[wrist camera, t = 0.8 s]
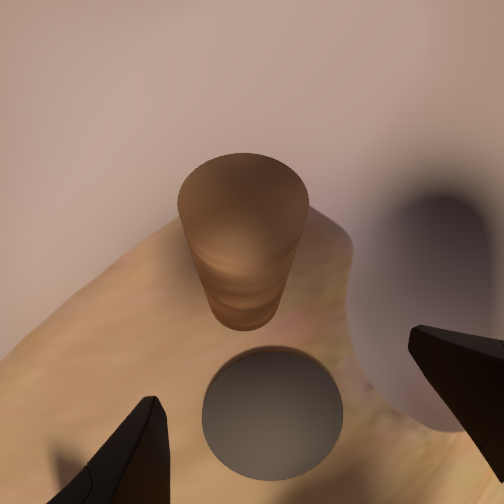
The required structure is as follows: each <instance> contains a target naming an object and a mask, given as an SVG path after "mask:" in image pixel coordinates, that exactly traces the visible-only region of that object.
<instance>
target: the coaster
mask: <svg viewBox="0 0 504 504" xmlns="http://www.w3.org/2000/svg"><path fill="white" fill-rule="evenodd" d="M342 422H343V406H342V401H341V397H340V394H339V391H338V389H337V387H336V385H335V384H334V382H333V380H332V379H331V378H330V377H329V375H328V374H327V373H326V372H325V371H324V370H323V369H322V368H320V367H319V366H318V365H316V364H315V363H313V362H312V361H310V360H308V359H306V358H303V357H301V356H298V355H294V354H291V353H284V352H266V353H259V354H255V355H252V356H249V357H246V358H243V359H241V360H239V361H237V362H236V363H234V364H233V365H231V366H229V367H228V368H227V369H226V370H225V371H223V372H222V373H221V374H220V375H219V376H218V378H217V379H216V380H215V381H214V383H213V384H212V386H211V387H210V389H209V391H208V393H207V395H206V398H205V401H204V405H203V410H202V427H203V431H204V436H205V438H206V441H207V443H208V445H209V447H210V449H211V450H212V452H213V453H214V454H215V456H216V457H217V458H218V459H219V460H220V461H221V462H222V463H223V464H224V465H225V466H227V467H228V468H230V469H231V470H233V471H234V472H236V473H238V474H240V475H243V476H246V477H248V478H252V479H257V480H265V481H277V480H284V479H289V478H292V477H296V476H298V475H301V474H303V473H305V472H307V471H309V470H311V469H312V468H314V467H315V466H316V465H318V464H319V463H320V462H321V461H322V460H323V459H324V458H325V457H326V456H327V455H328V454H329V453H330V451H331V450H332V448H333V447H334V445H335V444H336V442H337V439H338V437H339V435H340V432H341V428H342Z"/></svg>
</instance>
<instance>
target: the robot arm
mask: <svg viewBox="0 0 504 504" xmlns="http://www.w3.org/2000/svg"><path fill="white" fill-rule="evenodd" d="M408 350H409V352H410V354H411V355H412V357H413V359H414V360H415V362H416V363H417V365H418V366H419V368H420V369H421V371H422V373H423V374H424V376H425V377H426V379H427V380H428V382H429V383H430V384H431V385H432V387H433V388H434V389H435V391H436V392H437V393H438V394H439V396H440V397H441V398H442V400H443V401H444V402H445V404H446V405H447V406H448V407H449V409H450V410H451V411H452V413H453V414H454V415H455V417H456V418H457V419H458V421H459V422H460V424H461V425H462V426H463V428H464V429H465V430H466V432H467V433H468V435H469V436H470V437H471V439H472V440H473V442H474V443H475V445H476V446H477V447H478V449H479V450H480V452H481V454H482V455H483V456H484V458H485V459H486V461H487V462H488V464H489V465H490V467H491V469H492V470H493V472H494V473H495V475H496V476H497V478H498V479H499V481H500V482H501V483H503V482H504V340H497V339H492V338H487V337H481V336H476V335H470V334H465V333H459V332H455V331H449V330H444V329H439V328H435V327H430V326H425V325H418V326H416V327H414V328H412V329H411V331H410V337H409V343H408ZM46 504H170V448H169V438H168V426H167V416H166V413H165V411H164V409H163V407H162V405H161V403H160V401H159V399H158V398H157V397H156V396H146V397H144V398H143V399H142V400H141V401H140V402H139V403H138V404H137V406H136V407H135V408H134V409H133V410H132V412H131V413H130V414H129V415H128V416H127V417H126V419H125V420H124V421H123V422H122V423H121V424H120V426H119V427H118V428H117V429H116V430H115V432H114V433H113V434H112V435H111V436H110V437H109V439H108V440H107V441H106V442H105V443H104V444H103V446H102V447H101V448H100V449H99V450H98V451H97V452H96V454H95V455H94V456H93V457H92V458H91V459H90V461H89V462H88V463H87V465H85V466H84V467H83V469H82V470H81V471H80V472H79V473H78V474H77V475H76V476H75V477H74V478H73V480H72V481H71V482H70V483H69V484H68V485H66V486H65V487H64V488H63V489H62V490H61V491H60V492H59V493H58V494H57V495H55V496H54V497H53V498H52V499H51V500H50V501H49V502H47V503H46Z"/></svg>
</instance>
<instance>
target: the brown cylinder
mask: <svg viewBox="0 0 504 504" xmlns="http://www.w3.org/2000/svg"><path fill="white" fill-rule="evenodd" d="M177 204H178V212H179V216H180V219H181V222H182V225H183V229H184V232H185V235H186V238H187V241H188V244H189V247H190V250H191V253H192V256H193V259H194V262H195V265H196V268H197V271H198V274H199V277H200V279H201V282H202V285H203V288H204V291H205V294H206V296H207V299H208V302H209V304H210V307H211V310H212V312H213V314H214V316H215V317H216V318H217V320H218V321H219V322H220V323H222V324H223V325H225V326H226V327H228V328H230V329H233V330H237V331H251V330H255V329H258V328H260V327H262V326H264V325H265V324H267V323H268V322H269V321H270V320H271V319H272V317H273V316H274V314H275V313H276V310H277V308H278V305H279V302H280V299H281V296H282V293H283V290H284V287H285V284H286V281H287V278H288V275H289V271H290V268H291V265H292V262H293V259H294V256H295V253H296V249H297V246H298V243H299V240H300V236H301V233H302V230H303V227H304V223H305V220H306V217H307V213H308V209H309V198H308V193H307V189H306V187H305V185H304V183H303V181H302V180H301V179H300V177H299V176H298V175H297V174H296V173H295V172H294V171H293V170H292V169H291V168H289V167H288V166H286V165H285V164H283V163H282V162H280V161H278V160H275V159H273V158H270V157H267V156H263V155H259V154H251V153H235V154H228V155H224V156H220V157H217V158H214V159H212V160H209V161H207V162H205V163H204V164H202V165H200V166H199V167H198V168H196V169H195V170H194V171H193V172H192V173H191V174H190V175H189V176H188V177H187V178H186V180H185V181H184V183H183V184H182V186H181V189H180V191H179V195H178V202H177Z"/></svg>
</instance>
